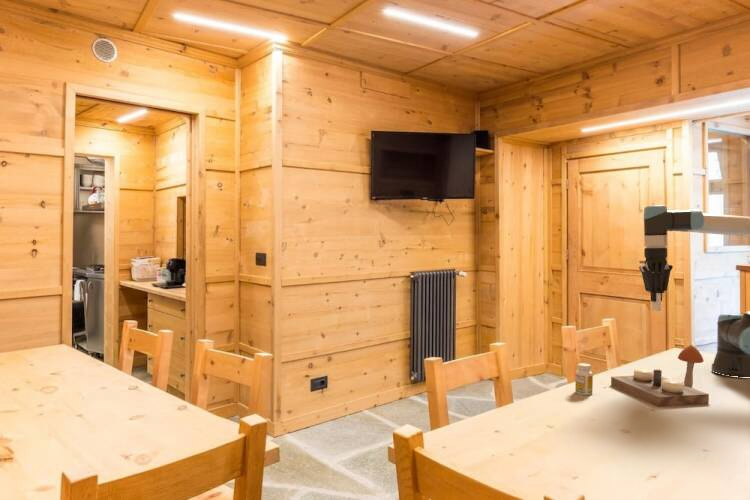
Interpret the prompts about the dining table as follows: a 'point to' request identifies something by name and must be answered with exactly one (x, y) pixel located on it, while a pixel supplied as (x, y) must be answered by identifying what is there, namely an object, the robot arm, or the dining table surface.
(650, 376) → the knob
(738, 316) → the robot arm
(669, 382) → the knob
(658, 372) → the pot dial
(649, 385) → the console
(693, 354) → the mushroom
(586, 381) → the supplement bottle
